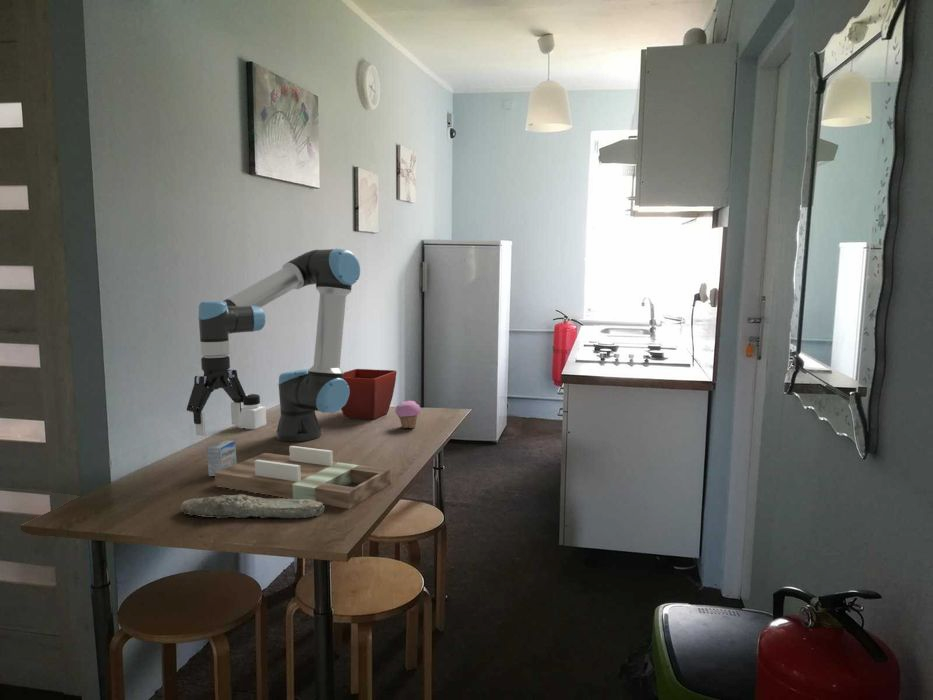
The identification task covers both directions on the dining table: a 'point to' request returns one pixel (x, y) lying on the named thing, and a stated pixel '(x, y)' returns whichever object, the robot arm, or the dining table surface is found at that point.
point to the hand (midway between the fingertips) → (219, 429)
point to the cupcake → (408, 413)
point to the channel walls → (292, 470)
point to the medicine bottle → (252, 413)
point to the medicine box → (221, 456)
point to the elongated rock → (252, 507)
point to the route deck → (309, 481)
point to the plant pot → (369, 392)
